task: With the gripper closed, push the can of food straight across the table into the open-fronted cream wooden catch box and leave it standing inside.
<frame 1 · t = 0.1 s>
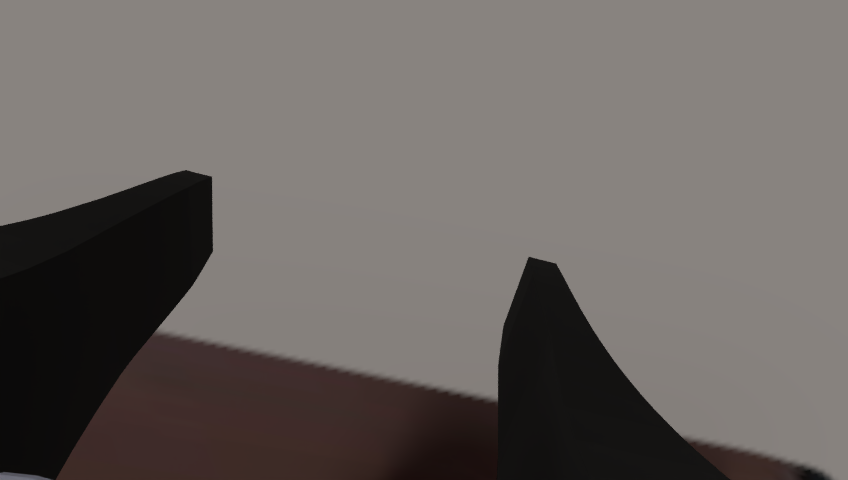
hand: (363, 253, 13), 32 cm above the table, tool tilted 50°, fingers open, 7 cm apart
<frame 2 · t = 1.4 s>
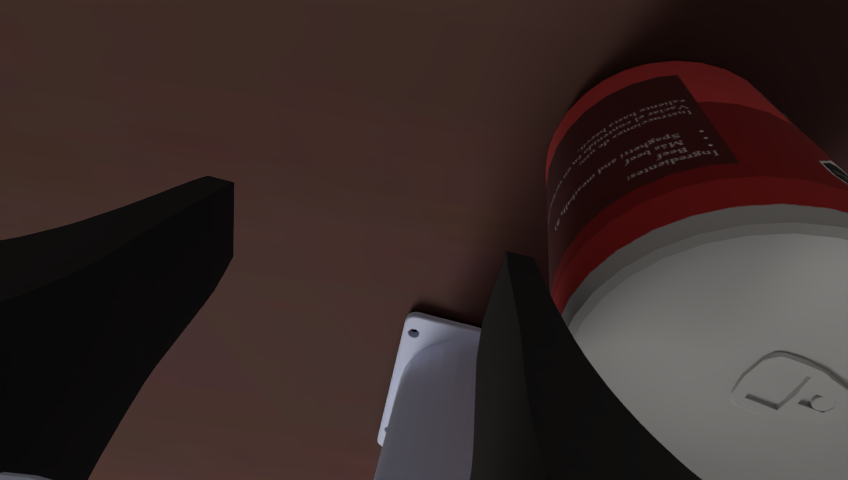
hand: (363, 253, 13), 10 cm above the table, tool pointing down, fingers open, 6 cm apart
canned food: (655, 158, 21), on the table
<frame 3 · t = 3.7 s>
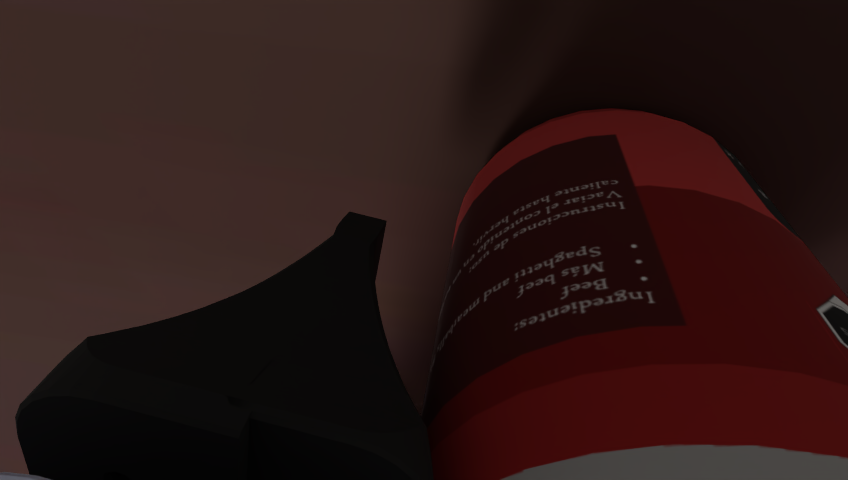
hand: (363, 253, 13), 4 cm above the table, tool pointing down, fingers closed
canned food: (598, 227, 16), on the table, touching gripper
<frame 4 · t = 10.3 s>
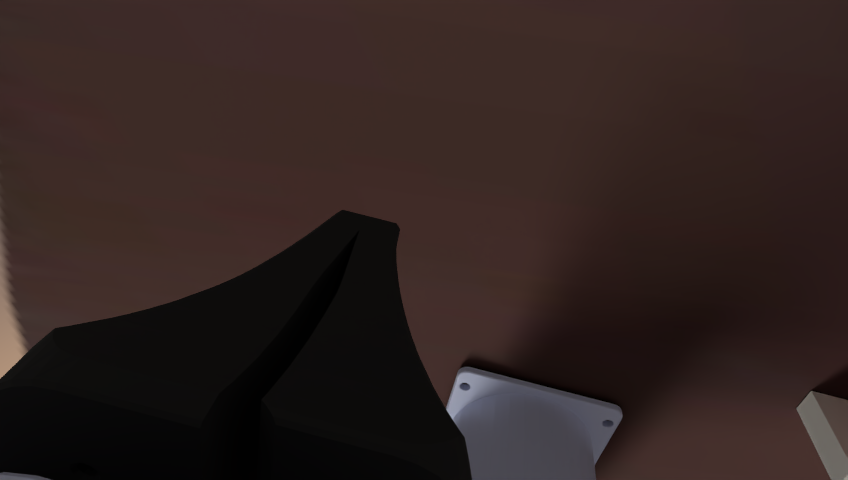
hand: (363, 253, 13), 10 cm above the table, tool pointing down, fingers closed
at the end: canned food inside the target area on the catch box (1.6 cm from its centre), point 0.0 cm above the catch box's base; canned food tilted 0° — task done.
